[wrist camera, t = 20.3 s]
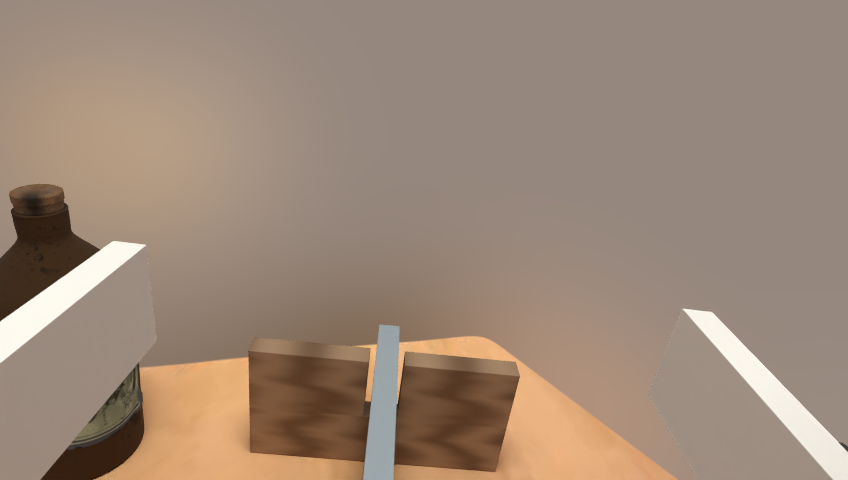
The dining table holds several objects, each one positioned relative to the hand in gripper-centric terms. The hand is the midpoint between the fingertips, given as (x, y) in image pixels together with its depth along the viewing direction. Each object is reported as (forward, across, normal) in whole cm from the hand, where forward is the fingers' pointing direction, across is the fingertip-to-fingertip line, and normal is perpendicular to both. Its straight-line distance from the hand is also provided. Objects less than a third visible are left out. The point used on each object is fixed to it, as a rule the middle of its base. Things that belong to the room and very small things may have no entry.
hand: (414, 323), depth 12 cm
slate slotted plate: (+22, 0, -33) cm, 40 cm away
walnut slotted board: (+26, 0, -33) cm, 42 cm away
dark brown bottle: (+24, -27, -33) cm, 49 cm away
